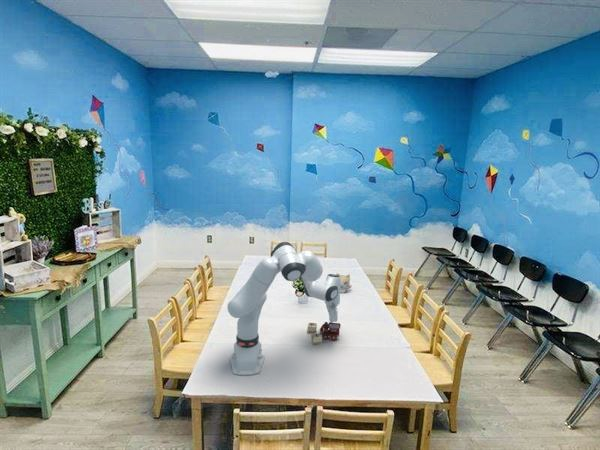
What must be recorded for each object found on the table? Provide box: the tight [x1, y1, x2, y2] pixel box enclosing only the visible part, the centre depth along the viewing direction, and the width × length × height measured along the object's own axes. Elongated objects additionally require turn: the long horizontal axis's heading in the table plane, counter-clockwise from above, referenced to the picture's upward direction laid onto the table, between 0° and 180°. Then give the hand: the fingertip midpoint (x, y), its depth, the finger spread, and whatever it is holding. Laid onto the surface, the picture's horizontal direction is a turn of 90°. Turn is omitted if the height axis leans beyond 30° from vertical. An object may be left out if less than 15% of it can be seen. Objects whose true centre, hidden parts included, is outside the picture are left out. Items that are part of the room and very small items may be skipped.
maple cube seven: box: [307, 322, 318, 335], centre depth 238 cm, size 5×5×5 cm
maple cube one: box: [310, 332, 323, 347], centre depth 225 cm, size 5×5×5 cm
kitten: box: [335, 272, 353, 294], centre depth 299 cm, size 15×10×15 cm, turn 76°
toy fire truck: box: [319, 321, 341, 342], centre depth 231 cm, size 7×12×10 cm, turn 80°
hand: (331, 321), depth 230 cm, fingers closed
